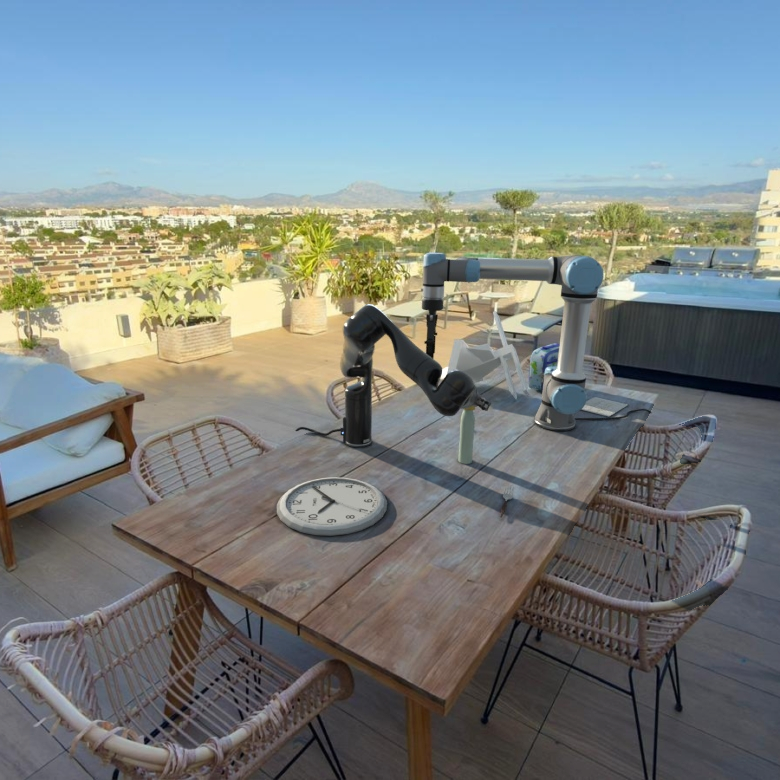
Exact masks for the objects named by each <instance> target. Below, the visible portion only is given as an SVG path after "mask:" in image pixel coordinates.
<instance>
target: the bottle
mask: <svg viewBox="0 0 780 780" xmlns="http://www.w3.org/2000/svg"><path fill="white" fill-rule="evenodd" d="M475 422H476V417H475V413H474V410H464V409H463V410H462V413H461V416H460V423H459V424H460V427H459V444H458V457H457V458H458V459H457V460H458V462H459V463H460V464H463V465H464V464H465V465H469V464H472V463H473V453H474V452H473V451H474V439H475V437H474V435H475V424H476V423H475Z"/></svg>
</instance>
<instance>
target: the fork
mask: <svg viewBox="0 0 780 780" xmlns="http://www.w3.org/2000/svg"><path fill="white" fill-rule="evenodd" d="M512 488H514V486H510V487H509V488H507V486H505V487H504V491H503V494H502V498H503V499H504V502H503V503H502V506H501V510H500V511H501V512H500V518H502V517H503V516H504V513H505V511H506V509H507V503H508V500H511V499H513V495H514V489H512Z"/></svg>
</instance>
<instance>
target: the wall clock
mask: <svg viewBox="0 0 780 780" xmlns="http://www.w3.org/2000/svg"><path fill="white" fill-rule="evenodd" d="M387 509H388V500H387V498H386V496H385V494H384V493H383V492H382V491H381V490H380V489H379V488H377V487H376V486H374V485H372V484H371V483H369V482H365V481H362V480H359V479H355V478H349V477H338V476H337V477H335V476H333V477H332V476H331V477H322V478H317V479H312V480H307V481H305V482H302V483H299V484H297V485H295V486H293V487H292V488H290V489H288V490H287V491H286V492H285V493H284V494H283V495H281V496H280V498H279V499H278V502H277V503H276V515H277V517H278V518H279V520H280V521H281V522H282V523H283V524H285V525H286V526H287V527H288V528H290V529H293V530H295V531H297V532H299V533H303V534H308V535H312V536H327V537H328V536H329V537H331V536H332V537H333V536H342V535H350V534H352V533H356V532H361V531H363V530H366V529H368V528H369V527H372V526H373V525H375V524H376V523H378V522H379V521H380V520H381V519H382V518H383V517H384V516H385V514H386V512H387Z"/></svg>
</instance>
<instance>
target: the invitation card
mask: <svg viewBox="0 0 780 780" xmlns="http://www.w3.org/2000/svg"><path fill="white" fill-rule="evenodd" d="M628 406H629V404H627V403H623V402H618V401H614V400H609V399H605V398H601V397H596V396H593V397H592V398H590V399H587V401H586V404H585V406H584V407H583V408H582V409H581V410H580V411H584V412H587V413H593V414H596V415H600V416H604V417H607V418H610V417H612V416H613V415H614V414H616V413H617V412H619V411H621V410H623V409H624V408H626V407H628Z"/></svg>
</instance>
